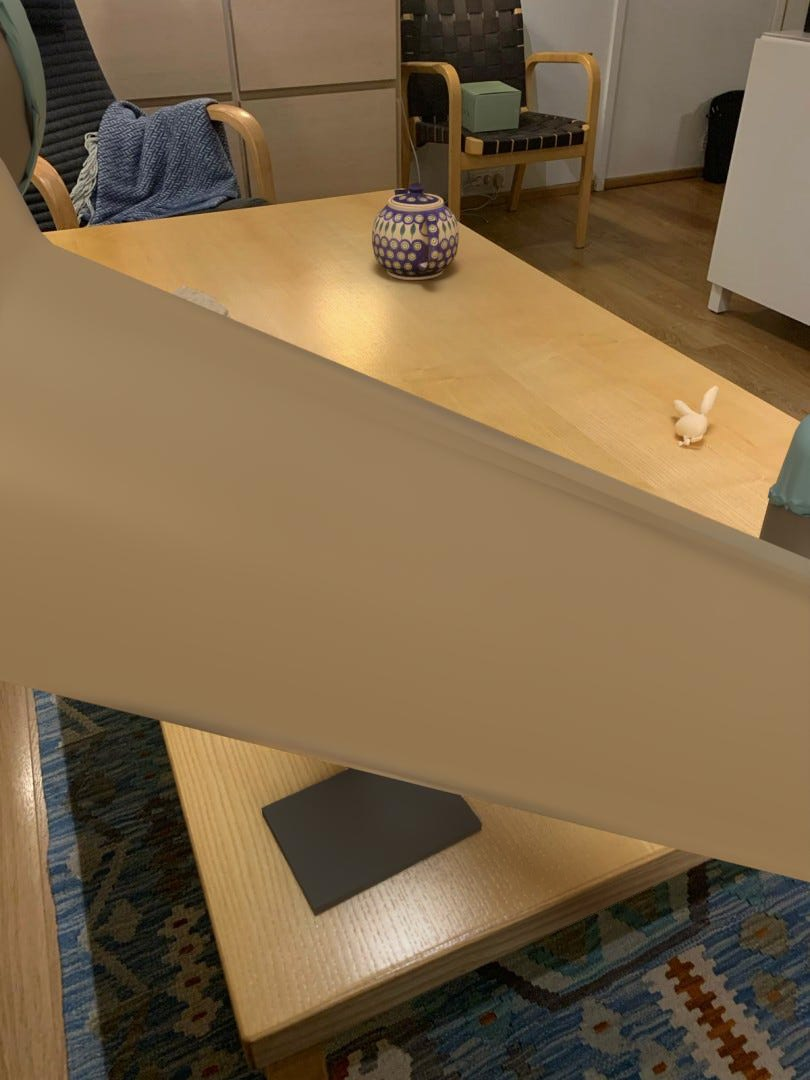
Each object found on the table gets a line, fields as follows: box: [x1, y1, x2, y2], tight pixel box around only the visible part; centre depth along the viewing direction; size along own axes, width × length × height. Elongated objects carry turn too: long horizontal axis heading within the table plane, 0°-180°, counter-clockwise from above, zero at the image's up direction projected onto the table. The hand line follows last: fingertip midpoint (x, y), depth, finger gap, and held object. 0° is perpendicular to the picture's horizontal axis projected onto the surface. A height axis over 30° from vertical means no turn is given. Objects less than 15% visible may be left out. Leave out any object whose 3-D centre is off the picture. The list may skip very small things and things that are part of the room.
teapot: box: [371, 182, 460, 281], centre depth 150 cm, size 25×15×15 cm, turn 11°
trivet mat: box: [260, 767, 483, 916], centre depth 62 cm, size 13×9×1 cm
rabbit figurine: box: [672, 385, 719, 447], centre depth 106 cm, size 6×4×8 cm
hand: (271, 500), depth 56 cm, fingers closed on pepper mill, 6 cm apart
